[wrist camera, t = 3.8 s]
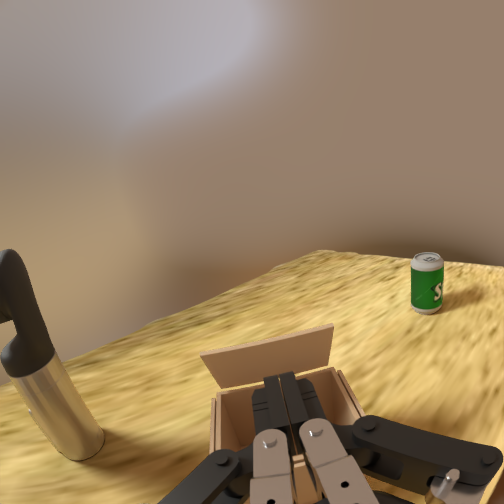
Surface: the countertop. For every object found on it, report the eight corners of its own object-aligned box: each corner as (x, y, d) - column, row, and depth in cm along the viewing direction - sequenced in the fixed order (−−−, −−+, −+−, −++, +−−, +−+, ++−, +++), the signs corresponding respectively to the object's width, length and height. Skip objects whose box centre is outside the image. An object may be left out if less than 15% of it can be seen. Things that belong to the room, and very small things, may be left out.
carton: (237, 521, 23) (208, 479, 20) (233, 446, 35) (211, 393, 32) (371, 490, 23) (381, 440, 21) (341, 422, 36) (339, 364, 33)
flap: (199, 355, 26) (199, 352, 27) (221, 388, 32) (220, 385, 32) (334, 326, 27) (332, 322, 27) (327, 365, 32) (326, 362, 33)
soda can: (427, 320, 53) (428, 266, 50) (404, 308, 60) (403, 258, 57) (448, 307, 55) (450, 255, 52) (425, 297, 62) (425, 248, 59)
